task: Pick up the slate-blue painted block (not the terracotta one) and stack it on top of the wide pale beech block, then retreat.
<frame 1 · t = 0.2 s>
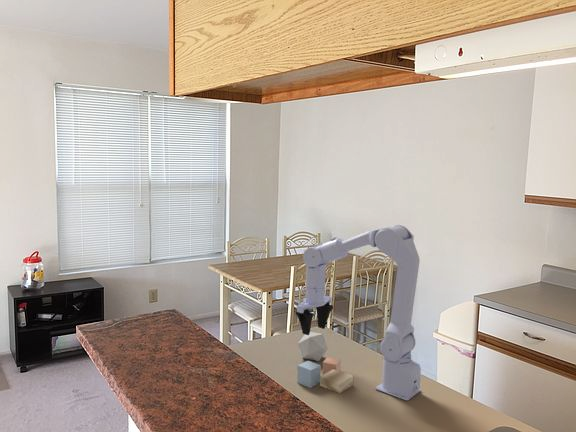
hand: (313, 330, 145), 10 cm above the countertop, tool pointing down, fingers open, 7 cm apart
blue block: (308, 382, 133), on the countertop
beech base: (336, 386, 131), on the countertop
terracotta block: (331, 374, 139), on the countertop
die: (312, 358, 149), on the countertop
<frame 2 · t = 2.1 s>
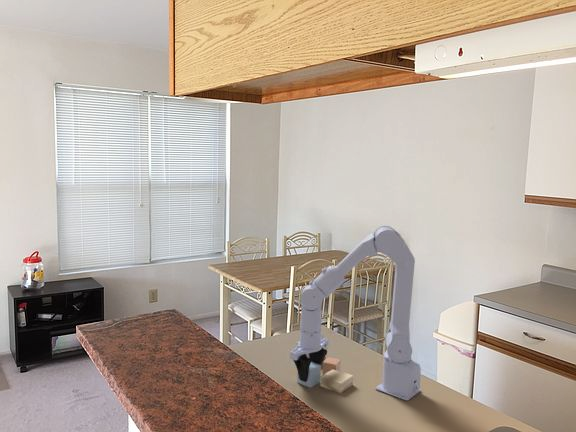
hand: (308, 377, 133), 1 cm above the countertop, tool pointing down, fingers closed on blue block, 4 cm apart
blue block: (308, 382, 133), on the countertop, touching gripper
everything else where it was.
when the fingers open (5 cm above the countertop, at t = 4.6 s): blue block stays where it is, resting on beech base.
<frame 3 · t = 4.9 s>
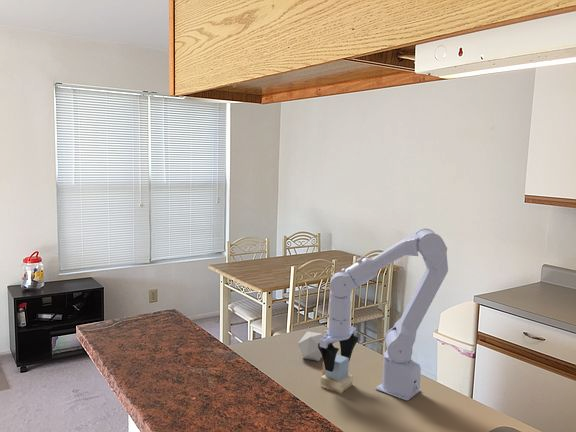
hand: (337, 366, 131), 5 cm above the countertop, tool pointing down, fingers open, 7 cm apart
blue block: (336, 375, 131), point 3 cm above the countertop, touching beech base
beech base: (336, 386, 131), on the countertop, touching blue block
everything else where it was.
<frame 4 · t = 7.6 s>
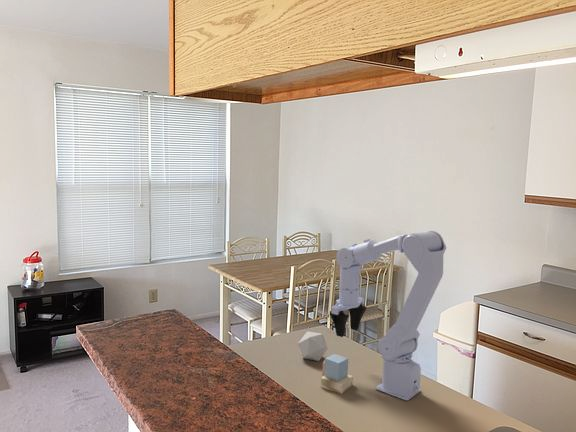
hand: (347, 332, 143), 10 cm above the countertop, tool pointing down, fingers open, 7 cm apart
nothing on the countertop moved.
at the end: blue block 0.5 cm off-centre on the beech base, point 3.0 cm above the beech base's base; blue block tilted 0°; the gripper is holding nothing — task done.
